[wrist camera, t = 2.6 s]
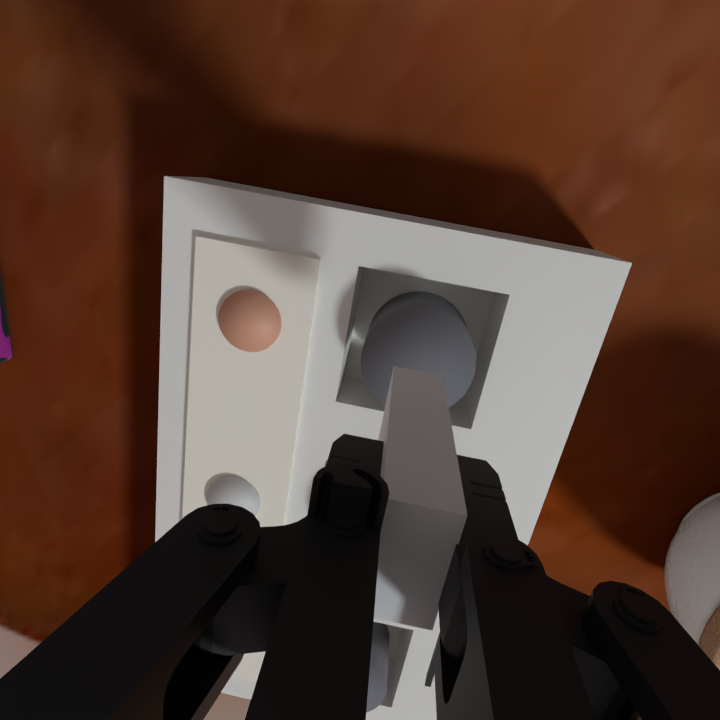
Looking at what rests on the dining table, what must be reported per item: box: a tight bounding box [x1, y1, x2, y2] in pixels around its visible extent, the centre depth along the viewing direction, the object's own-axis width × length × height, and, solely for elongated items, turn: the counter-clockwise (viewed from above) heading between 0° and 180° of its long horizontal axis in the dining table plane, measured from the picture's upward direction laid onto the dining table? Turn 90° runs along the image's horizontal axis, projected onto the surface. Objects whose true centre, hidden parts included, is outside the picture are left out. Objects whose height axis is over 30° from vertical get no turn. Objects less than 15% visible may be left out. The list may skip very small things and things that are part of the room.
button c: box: [366, 621, 390, 712], centre depth 26 cm, size 4×4×3 cm
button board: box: [155, 176, 632, 720], centre depth 25 cm, size 18×28×4 cm, turn 170°
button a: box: [361, 291, 476, 408], centre depth 20 cm, size 4×4×3 cm
